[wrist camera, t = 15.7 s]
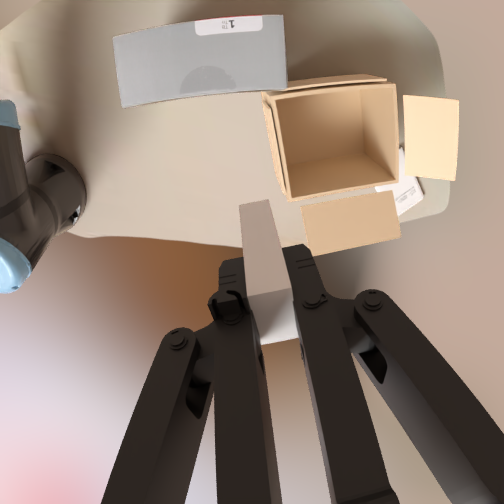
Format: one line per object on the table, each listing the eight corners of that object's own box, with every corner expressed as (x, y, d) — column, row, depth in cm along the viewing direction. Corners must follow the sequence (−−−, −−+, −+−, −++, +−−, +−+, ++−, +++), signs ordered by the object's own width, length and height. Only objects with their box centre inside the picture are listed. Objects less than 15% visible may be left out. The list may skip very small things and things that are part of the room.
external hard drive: (398, 144, 49) (421, 194, 55) (362, 168, 52) (389, 216, 58) (402, 146, 48) (425, 197, 54) (366, 171, 50) (393, 220, 57)
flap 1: (300, 206, 40) (300, 206, 41) (310, 256, 41) (310, 256, 41) (392, 189, 40) (391, 190, 40) (401, 237, 40) (400, 237, 40)
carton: (272, 170, 51) (285, 204, 41) (255, 83, 42) (264, 91, 32) (366, 154, 50) (399, 183, 40) (359, 70, 41) (396, 78, 31)
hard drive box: (263, 31, 37) (288, 14, 21) (265, 78, 42) (291, 93, 26) (156, 42, 37) (110, 36, 21) (161, 89, 41) (121, 113, 25)
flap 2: (455, 180, 35) (454, 179, 35) (458, 100, 29) (458, 99, 29) (404, 175, 38) (404, 174, 39) (403, 95, 32) (403, 94, 32)
